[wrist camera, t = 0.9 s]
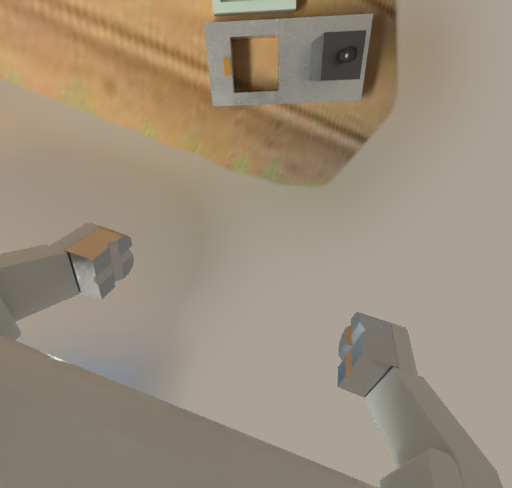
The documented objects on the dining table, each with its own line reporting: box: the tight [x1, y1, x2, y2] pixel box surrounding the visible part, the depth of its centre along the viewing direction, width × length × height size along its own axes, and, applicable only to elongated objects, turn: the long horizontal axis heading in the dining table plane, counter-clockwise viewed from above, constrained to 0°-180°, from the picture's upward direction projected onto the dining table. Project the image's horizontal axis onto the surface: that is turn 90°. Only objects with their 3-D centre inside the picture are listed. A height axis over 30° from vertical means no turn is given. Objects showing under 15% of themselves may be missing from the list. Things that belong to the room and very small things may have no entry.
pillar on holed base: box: [204, 14, 373, 106], centre depth 31 cm, size 20×9×14 cm, turn 92°
